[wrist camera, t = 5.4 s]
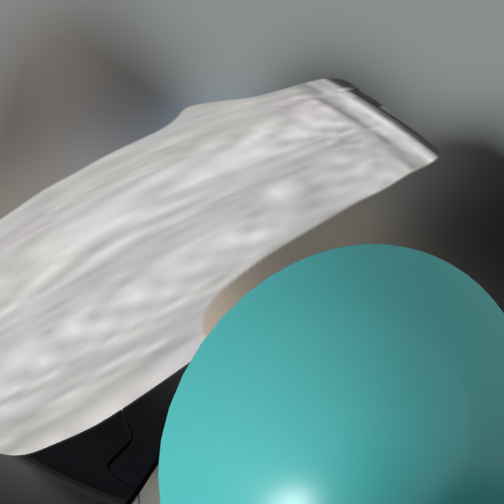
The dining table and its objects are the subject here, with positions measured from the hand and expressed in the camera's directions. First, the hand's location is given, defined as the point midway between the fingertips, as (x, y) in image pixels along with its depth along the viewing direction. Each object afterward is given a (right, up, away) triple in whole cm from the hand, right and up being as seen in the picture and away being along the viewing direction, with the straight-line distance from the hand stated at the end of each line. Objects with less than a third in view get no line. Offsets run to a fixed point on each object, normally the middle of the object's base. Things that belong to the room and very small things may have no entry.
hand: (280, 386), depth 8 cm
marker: (-1, -4, +5) cm, 7 cm away
